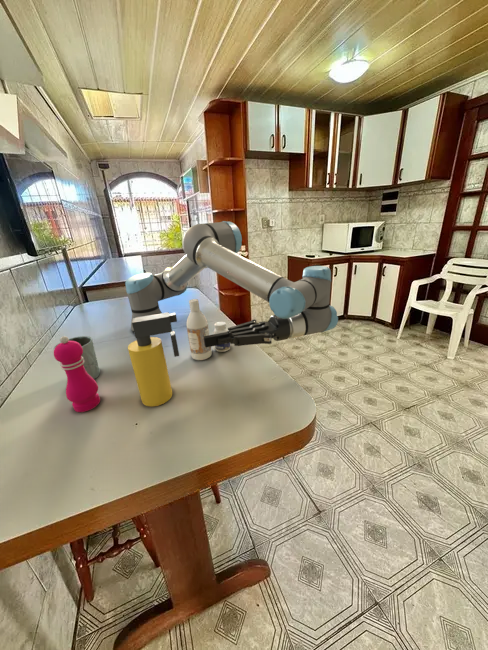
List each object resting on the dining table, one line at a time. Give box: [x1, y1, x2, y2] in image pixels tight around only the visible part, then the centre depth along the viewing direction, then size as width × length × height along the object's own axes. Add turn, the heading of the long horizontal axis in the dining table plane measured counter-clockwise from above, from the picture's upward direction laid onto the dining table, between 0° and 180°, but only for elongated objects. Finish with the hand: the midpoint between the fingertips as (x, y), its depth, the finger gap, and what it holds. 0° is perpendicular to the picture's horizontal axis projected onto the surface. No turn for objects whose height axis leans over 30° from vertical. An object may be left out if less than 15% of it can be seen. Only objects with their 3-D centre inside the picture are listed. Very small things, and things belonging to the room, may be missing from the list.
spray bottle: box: [127, 311, 178, 407], centre depth 68 cm, size 8×13×22 cm, turn 107°
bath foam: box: [186, 298, 213, 361], centre depth 88 cm, size 7×7×20 cm
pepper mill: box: [53, 335, 101, 413], centre depth 67 cm, size 7×7×20 cm
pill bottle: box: [213, 321, 231, 353], centre depth 94 cm, size 5×5×10 cm
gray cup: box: [53, 335, 101, 380], centre depth 82 cm, size 10×10×12 cm
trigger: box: [169, 330, 180, 358], centre depth 68 cm, size 3×1×6 cm, turn 17°
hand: (204, 341), depth 71 cm, fingers closed
